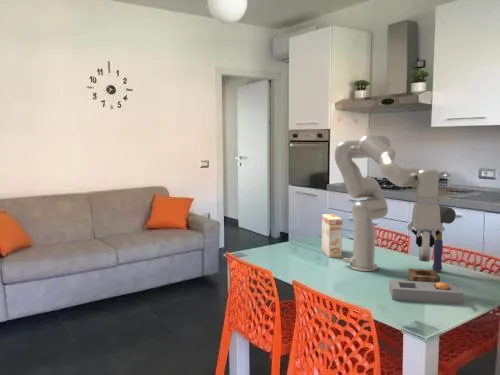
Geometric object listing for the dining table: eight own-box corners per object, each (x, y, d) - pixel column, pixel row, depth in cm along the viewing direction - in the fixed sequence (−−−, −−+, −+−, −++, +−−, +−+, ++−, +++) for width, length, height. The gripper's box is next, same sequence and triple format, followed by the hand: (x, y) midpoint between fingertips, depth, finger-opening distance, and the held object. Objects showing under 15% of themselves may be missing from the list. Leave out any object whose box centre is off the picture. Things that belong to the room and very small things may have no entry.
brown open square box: (412, 291, 169) (412, 276, 168) (408, 282, 179) (408, 268, 178) (439, 292, 167) (440, 277, 166) (433, 284, 177) (434, 270, 176)
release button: (436, 298, 158) (437, 285, 157) (434, 294, 162) (434, 281, 161) (449, 299, 157) (449, 286, 156) (446, 295, 161) (446, 282, 160)
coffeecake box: (342, 257, 217) (343, 219, 215) (328, 257, 217) (328, 219, 214) (334, 249, 232) (334, 213, 230) (321, 249, 231) (321, 214, 229)
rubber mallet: (454, 274, 189) (457, 206, 185) (440, 276, 186) (443, 208, 183) (433, 266, 200) (436, 202, 197) (420, 268, 198) (423, 203, 194)
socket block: (392, 302, 158) (392, 288, 158) (389, 292, 168) (389, 279, 167) (462, 306, 154) (463, 293, 153) (455, 296, 163) (455, 283, 163)
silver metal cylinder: (420, 261, 170) (421, 231, 169) (418, 258, 174) (419, 229, 173) (430, 261, 169) (432, 231, 168) (428, 259, 173) (430, 229, 172)
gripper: (447, 199, 171) (445, 245, 173) (403, 198, 174) (401, 243, 176) (452, 202, 164) (449, 249, 166) (405, 201, 167) (404, 247, 169)
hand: (425, 245), depth 171 cm, fingers closed on silver metal cylinder, 4 cm apart
